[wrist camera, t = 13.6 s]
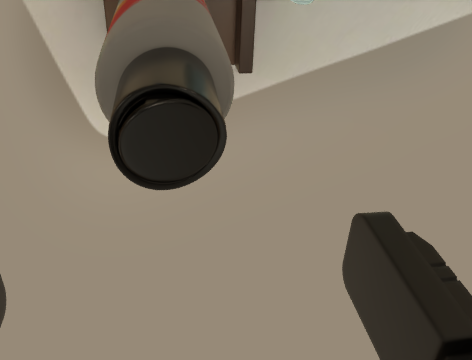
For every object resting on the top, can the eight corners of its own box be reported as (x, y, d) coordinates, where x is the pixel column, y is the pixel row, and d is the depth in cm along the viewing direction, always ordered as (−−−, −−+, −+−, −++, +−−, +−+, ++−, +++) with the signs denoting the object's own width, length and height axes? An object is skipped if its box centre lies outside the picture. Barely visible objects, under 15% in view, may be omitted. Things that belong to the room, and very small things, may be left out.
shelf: (116, 46, 36) (108, 75, 31) (105, -60, 32) (93, -49, 26) (237, 46, 38) (252, 73, 32) (241, -56, 34) (259, -45, 28)
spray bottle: (158, -56, 29) (158, 13, 12) (221, 9, 31) (293, 140, 15) (102, 11, 30) (34, 155, 13) (167, 67, 33) (176, 245, 16)
